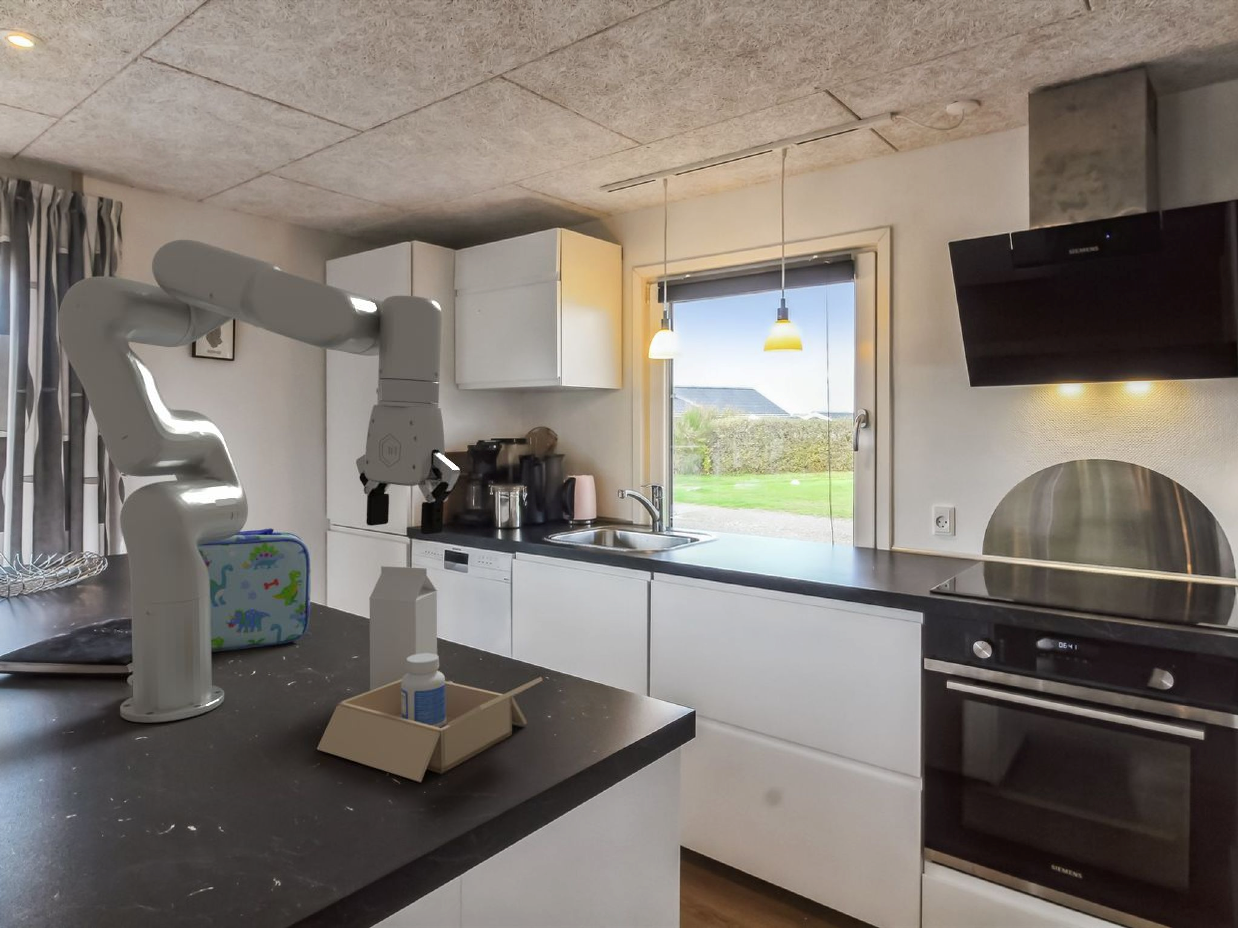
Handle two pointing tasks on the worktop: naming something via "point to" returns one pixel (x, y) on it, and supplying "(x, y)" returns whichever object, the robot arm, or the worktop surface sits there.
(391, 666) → the milk carton
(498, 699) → the flap
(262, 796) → the worktop surface
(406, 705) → the pill bottle
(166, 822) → the worktop surface
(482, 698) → the carton
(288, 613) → the lunch box
